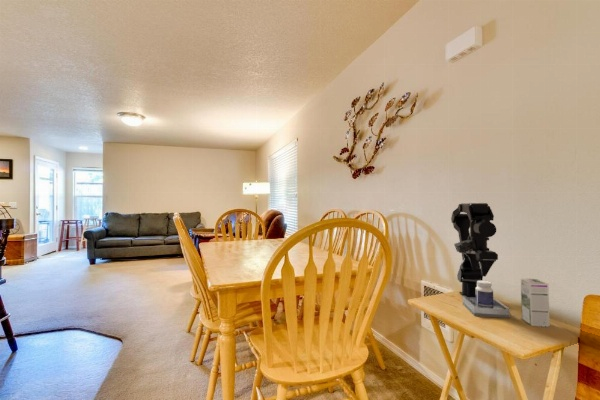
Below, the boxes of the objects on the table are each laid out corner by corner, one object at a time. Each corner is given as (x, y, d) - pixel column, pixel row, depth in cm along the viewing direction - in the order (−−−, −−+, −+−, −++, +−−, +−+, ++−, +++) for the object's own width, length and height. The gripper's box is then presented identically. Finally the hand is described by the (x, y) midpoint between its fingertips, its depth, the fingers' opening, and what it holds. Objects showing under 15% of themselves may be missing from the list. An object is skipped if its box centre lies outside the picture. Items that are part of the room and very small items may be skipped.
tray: (462, 304, 115) (462, 295, 115) (493, 306, 113) (493, 297, 113) (474, 315, 104) (474, 306, 104) (509, 318, 101) (509, 308, 101)
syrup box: (550, 327, 94) (550, 283, 94) (530, 326, 95) (529, 282, 95) (539, 320, 99) (539, 278, 99) (520, 319, 100) (520, 278, 101)
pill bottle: (497, 310, 106) (497, 283, 106) (483, 311, 105) (483, 284, 105) (485, 304, 112) (484, 279, 112) (472, 305, 111) (471, 280, 111)
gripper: (449, 231, 124) (449, 267, 124) (465, 236, 106) (465, 278, 106) (477, 232, 122) (477, 268, 122) (498, 237, 104) (498, 280, 104)
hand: (478, 273), depth 113 cm, fingers open, 9 cm apart
